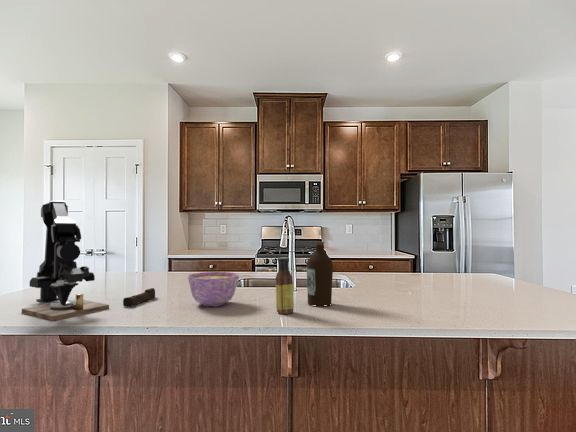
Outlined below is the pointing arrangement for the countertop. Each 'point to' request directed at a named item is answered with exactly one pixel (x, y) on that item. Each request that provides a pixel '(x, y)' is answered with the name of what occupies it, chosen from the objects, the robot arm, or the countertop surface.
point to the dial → (69, 303)
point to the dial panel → (63, 310)
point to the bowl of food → (213, 287)
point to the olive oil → (319, 277)
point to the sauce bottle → (284, 287)
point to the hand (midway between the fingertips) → (63, 304)
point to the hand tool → (139, 298)
